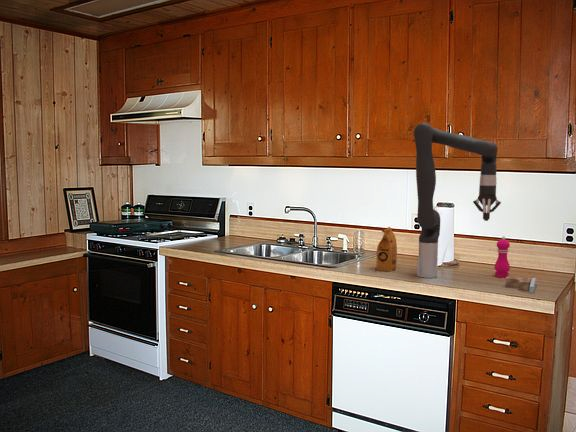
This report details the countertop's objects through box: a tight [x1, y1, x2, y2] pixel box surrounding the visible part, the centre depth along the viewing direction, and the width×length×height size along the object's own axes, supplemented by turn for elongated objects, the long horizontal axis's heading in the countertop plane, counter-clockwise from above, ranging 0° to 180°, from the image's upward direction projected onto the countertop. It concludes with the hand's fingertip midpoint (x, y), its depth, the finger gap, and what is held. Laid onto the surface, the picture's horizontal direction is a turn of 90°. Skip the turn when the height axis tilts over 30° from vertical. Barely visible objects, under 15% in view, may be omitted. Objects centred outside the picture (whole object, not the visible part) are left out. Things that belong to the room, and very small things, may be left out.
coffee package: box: [375, 226, 398, 273], centre depth 292 cm, size 10×12×22 cm
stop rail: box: [528, 277, 537, 294], centre depth 252 cm, size 2×18×3 cm, turn 153°
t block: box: [504, 275, 532, 292], centre depth 254 cm, size 10×12×4 cm
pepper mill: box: [494, 236, 511, 279], centre depth 275 cm, size 7×7×20 cm
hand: (486, 220), depth 266 cm, fingers closed
